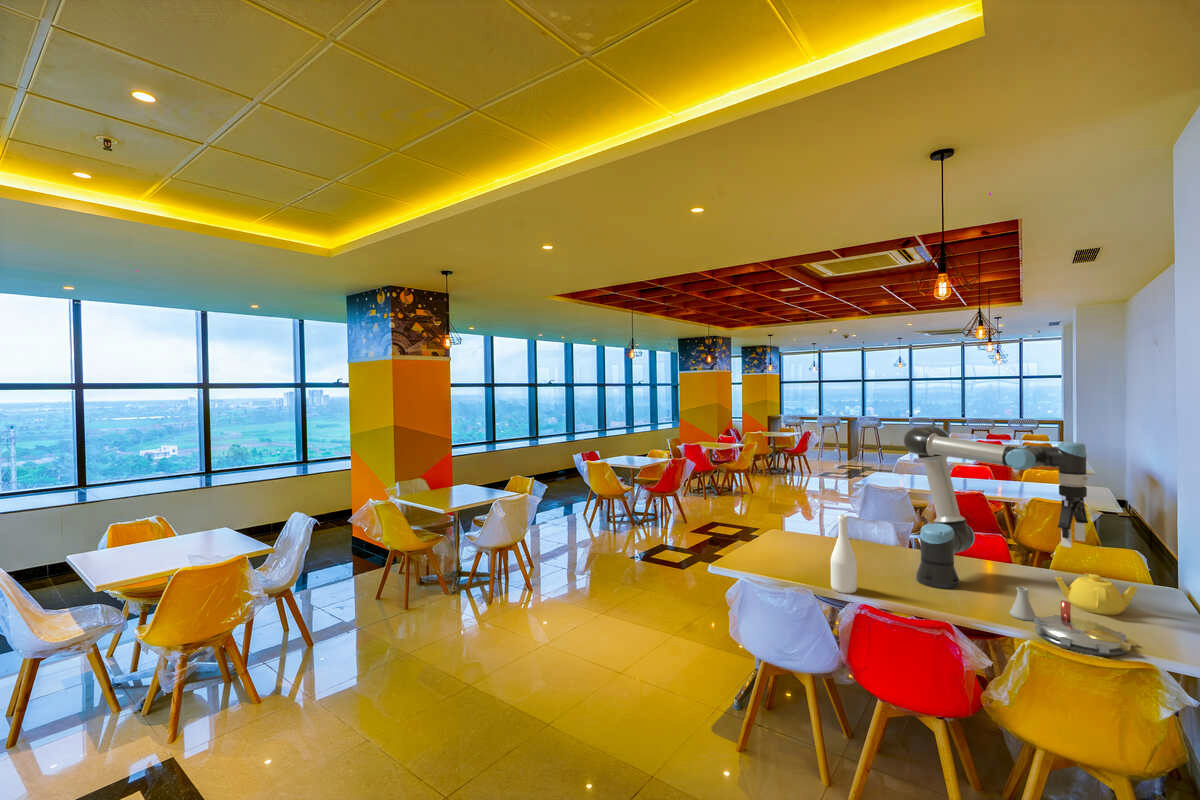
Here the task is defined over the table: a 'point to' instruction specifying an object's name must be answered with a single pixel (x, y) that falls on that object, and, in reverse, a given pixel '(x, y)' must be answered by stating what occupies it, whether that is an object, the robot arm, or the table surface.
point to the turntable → (1080, 632)
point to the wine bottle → (843, 561)
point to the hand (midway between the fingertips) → (1073, 543)
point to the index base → (1087, 651)
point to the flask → (1022, 606)
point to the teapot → (1096, 595)
